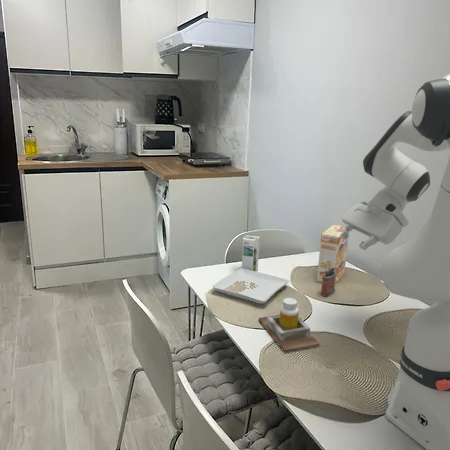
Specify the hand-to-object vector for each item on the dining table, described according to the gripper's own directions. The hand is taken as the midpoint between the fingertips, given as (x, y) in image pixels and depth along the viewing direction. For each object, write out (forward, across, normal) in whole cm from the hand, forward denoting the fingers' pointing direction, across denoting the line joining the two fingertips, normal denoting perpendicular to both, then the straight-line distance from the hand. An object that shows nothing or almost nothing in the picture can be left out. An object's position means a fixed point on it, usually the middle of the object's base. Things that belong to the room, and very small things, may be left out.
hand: (351, 242), depth 123 cm
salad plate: (+32, -30, +6) cm, 45 cm away
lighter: (+14, -20, +24) cm, 34 cm away
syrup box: (+28, -46, +11) cm, 55 cm away
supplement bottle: (+32, 0, +5) cm, 32 cm away
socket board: (+33, 0, +6) cm, 33 cm away
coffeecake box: (+7, -32, +31) cm, 45 cm away
